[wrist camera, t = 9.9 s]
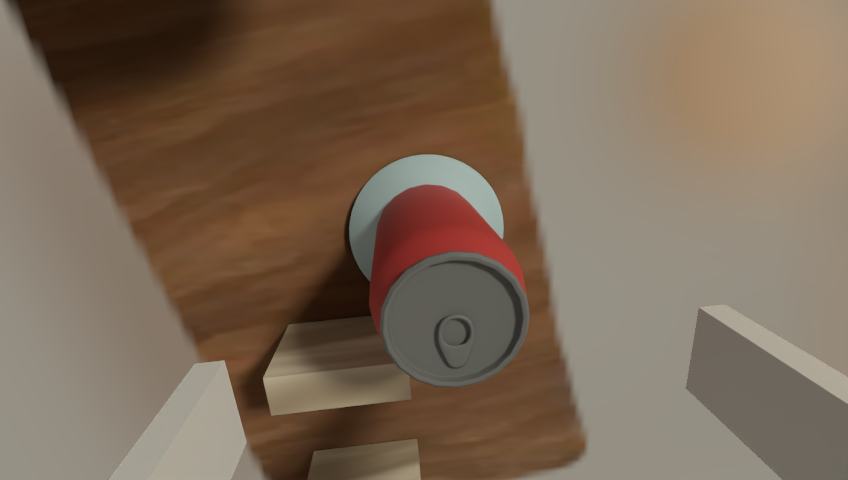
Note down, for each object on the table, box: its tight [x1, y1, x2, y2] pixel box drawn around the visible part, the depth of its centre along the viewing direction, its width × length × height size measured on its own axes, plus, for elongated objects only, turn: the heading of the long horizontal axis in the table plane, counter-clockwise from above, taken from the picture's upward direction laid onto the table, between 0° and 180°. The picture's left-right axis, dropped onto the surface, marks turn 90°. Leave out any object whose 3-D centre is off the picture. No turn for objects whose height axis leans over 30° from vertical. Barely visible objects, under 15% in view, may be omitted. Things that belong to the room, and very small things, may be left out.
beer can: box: [369, 184, 530, 387], centre depth 21 cm, size 7×7×12 cm
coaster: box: [349, 154, 504, 281], centre depth 27 cm, size 10×10×1 cm
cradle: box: [263, 316, 421, 480], centre depth 27 cm, size 14×8×6 cm, turn 4°
